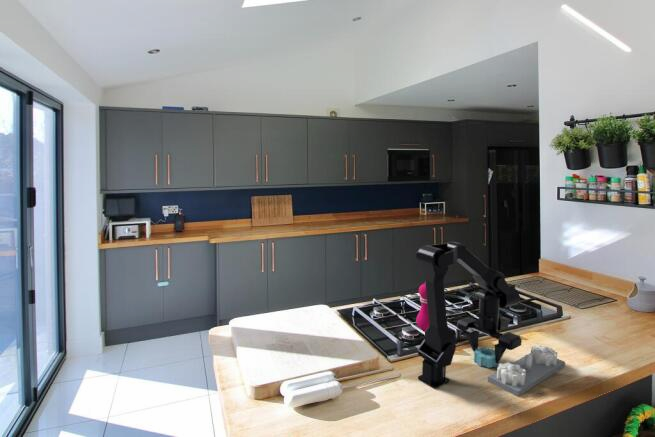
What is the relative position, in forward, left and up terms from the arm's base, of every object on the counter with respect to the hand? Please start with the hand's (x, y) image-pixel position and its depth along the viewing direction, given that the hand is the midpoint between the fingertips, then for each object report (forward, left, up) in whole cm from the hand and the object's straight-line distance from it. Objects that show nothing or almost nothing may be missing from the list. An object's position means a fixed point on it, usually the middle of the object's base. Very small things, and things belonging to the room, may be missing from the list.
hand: (486, 358), depth 124 cm
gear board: (+4, -11, -1) cm, 12 cm away
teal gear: (0, 0, -1) cm, 1 cm away
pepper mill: (+1, +25, -2) cm, 25 cm away
